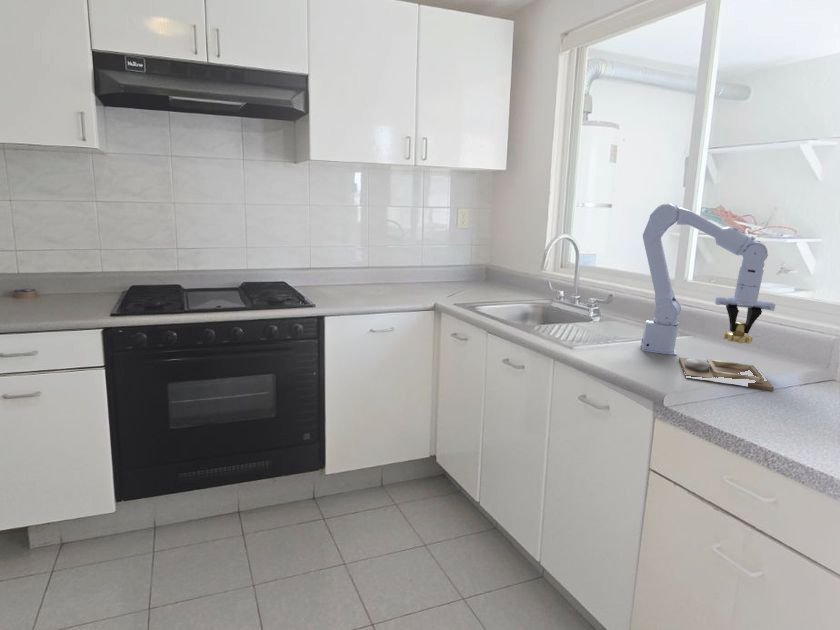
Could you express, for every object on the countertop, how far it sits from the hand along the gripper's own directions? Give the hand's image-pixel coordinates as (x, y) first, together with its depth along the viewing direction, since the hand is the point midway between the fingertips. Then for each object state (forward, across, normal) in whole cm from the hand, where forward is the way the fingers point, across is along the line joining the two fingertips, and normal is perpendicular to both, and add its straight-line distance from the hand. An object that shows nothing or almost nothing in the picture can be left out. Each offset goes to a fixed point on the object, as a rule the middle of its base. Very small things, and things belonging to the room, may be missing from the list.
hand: (738, 331), depth 156 cm
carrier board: (+9, -5, -13) cm, 17 cm away
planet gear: (+2, 0, 0) cm, 2 cm away
